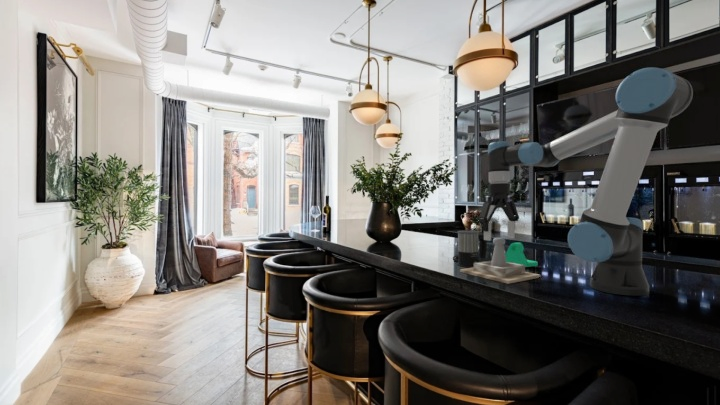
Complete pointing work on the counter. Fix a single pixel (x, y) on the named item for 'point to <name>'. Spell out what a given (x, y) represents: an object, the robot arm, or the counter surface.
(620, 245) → the robot arm
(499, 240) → the salt shaker
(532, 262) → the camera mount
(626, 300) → the counter surface
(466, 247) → the milk frother
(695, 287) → the counter surface
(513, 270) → the socket holder
